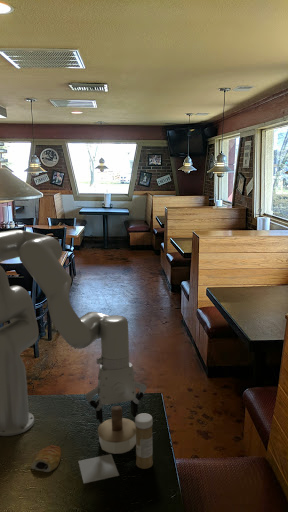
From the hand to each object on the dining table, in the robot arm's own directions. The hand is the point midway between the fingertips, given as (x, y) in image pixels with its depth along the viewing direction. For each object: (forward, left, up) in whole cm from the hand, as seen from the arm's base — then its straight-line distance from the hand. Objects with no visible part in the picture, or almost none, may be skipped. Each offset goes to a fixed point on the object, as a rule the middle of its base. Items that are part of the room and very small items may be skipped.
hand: (117, 418), depth 117 cm
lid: (0, 0, -4) cm, 4 cm away
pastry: (-20, -2, -8) cm, 22 cm away
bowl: (0, 0, -8) cm, 8 cm away
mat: (-7, -9, -8) cm, 14 cm away
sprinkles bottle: (+5, -11, -8) cm, 14 cm away
